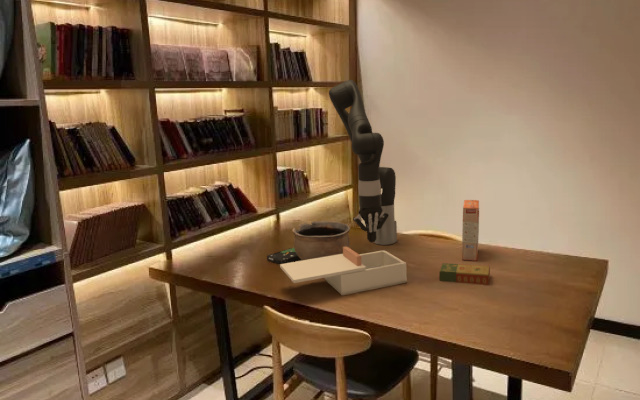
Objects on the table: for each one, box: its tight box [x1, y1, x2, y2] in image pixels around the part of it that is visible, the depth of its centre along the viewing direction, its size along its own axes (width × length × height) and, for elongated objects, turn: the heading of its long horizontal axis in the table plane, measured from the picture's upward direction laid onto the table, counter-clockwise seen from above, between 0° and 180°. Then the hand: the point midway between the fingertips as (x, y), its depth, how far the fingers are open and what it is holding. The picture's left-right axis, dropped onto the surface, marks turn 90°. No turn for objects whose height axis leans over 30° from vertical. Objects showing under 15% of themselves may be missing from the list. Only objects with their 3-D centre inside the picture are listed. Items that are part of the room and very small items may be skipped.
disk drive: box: [266, 247, 301, 266], centre depth 193 cm, size 10×3×15 cm
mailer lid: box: [279, 246, 366, 284], centre depth 158 cm, size 25×16×4 cm, turn 110°
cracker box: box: [461, 199, 480, 262], centre depth 183 cm, size 14×6×21 cm, turn 161°
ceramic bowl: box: [292, 220, 351, 261], centre depth 182 cm, size 22×22×15 cm
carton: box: [438, 262, 491, 286], centre depth 162 cm, size 8×16×4 cm, turn 69°
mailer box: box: [324, 249, 408, 296], centre depth 164 cm, size 24×16×7 cm, turn 110°
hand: (371, 241), depth 163 cm, fingers closed
